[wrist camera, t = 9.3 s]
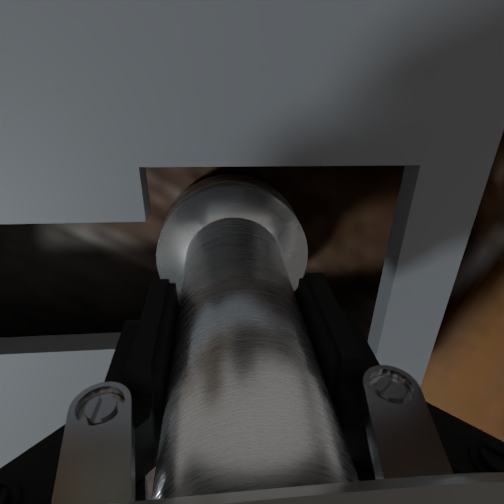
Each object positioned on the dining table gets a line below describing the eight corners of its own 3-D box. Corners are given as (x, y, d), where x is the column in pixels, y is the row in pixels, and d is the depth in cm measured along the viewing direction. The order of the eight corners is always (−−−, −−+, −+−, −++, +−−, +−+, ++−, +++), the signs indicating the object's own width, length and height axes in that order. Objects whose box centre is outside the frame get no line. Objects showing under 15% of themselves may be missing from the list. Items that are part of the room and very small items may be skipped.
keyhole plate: (-335, -43, 11) (-628, -97, 7) (459, -15, 14) (559, -44, 10) (-76, 402, 21) (-145, 484, 17) (369, 376, 23) (402, 443, 19)
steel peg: (303, 173, 16) (527, 456, 5) (293, 294, 19) (415, 649, 8) (154, 174, 16) (-13, 502, 4) (168, 299, 18) (95, 691, 7)
